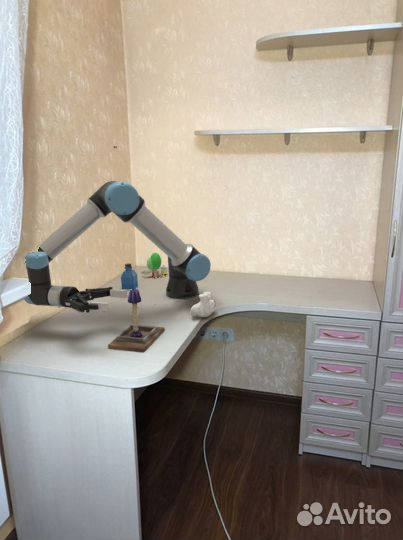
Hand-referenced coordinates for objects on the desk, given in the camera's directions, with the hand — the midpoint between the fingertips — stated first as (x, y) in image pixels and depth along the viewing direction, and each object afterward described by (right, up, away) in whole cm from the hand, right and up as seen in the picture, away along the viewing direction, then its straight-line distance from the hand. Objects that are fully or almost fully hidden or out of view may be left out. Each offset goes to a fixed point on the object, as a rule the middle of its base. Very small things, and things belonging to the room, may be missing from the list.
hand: (117, 300), depth 140 cm
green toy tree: (+3, +7, +82) cm, 82 cm away
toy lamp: (+6, -13, +2) cm, 14 cm away
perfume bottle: (-7, +1, +62) cm, 62 cm away
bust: (+30, -8, +21) cm, 38 cm away
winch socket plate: (+6, -14, +2) cm, 15 cm away
